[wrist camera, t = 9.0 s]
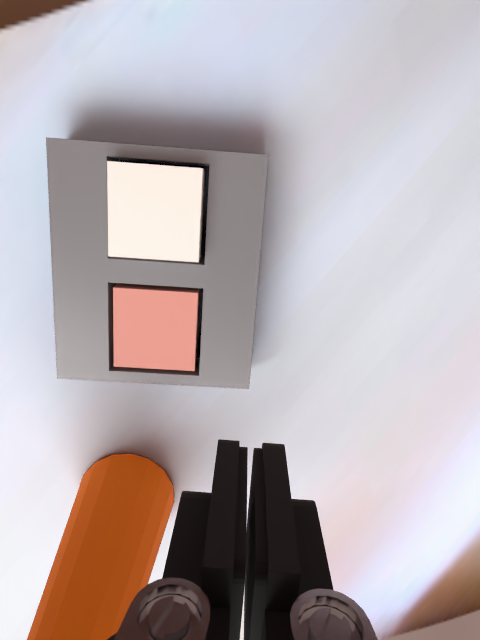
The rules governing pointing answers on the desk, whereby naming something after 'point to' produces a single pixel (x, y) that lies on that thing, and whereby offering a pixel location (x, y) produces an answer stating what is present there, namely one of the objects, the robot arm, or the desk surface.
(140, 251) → the white key
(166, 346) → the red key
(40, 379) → the desk surface
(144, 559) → the spray bottle
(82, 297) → the key panel
